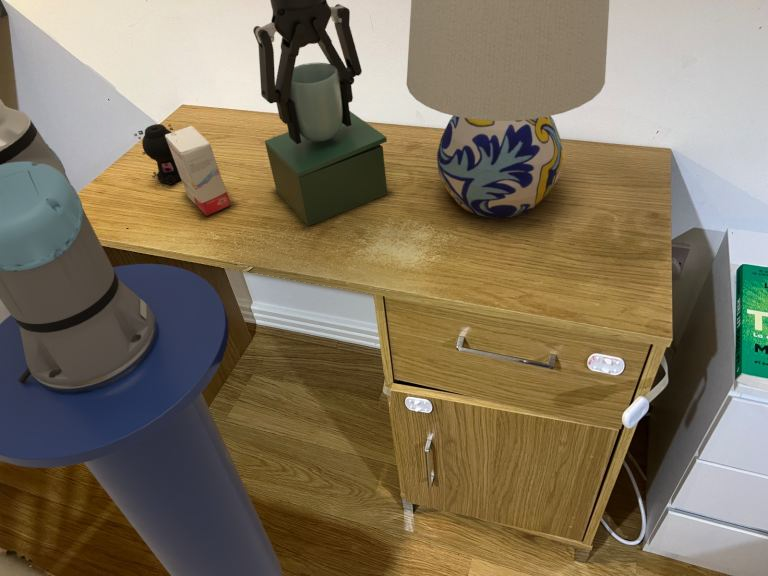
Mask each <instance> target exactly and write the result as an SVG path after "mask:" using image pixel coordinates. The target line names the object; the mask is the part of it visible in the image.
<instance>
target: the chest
mask: <svg viewBox="0 0 768 576" xmlns="http://www.w3.org/2000/svg"><path fill="white" fill-rule="evenodd" d="M265 149H266V153H267V157H268V162H269V165H270V169H271V174H272V179H273V182H274V187H275V191H276V194H278V195H279V196H280V198H282V199H283V201H284V202H285V203H286V204H287V205H288V206H289V207H290V208H291V210H292V211H294V213H295V214H296V215H297V216H298V217H299V218H300V219H301V220H302V221H303V222H304V223H305V225H306V226H307V227H310V226H312V225H315V224H318V223H321V222H322V221H325V220H327V219H330V218H333V217H335V216H337V215H340V214H342V213H345V212H348V211H349V210H352V209H355V208H357V207H360V206H362V205H365V204H367V203H370V202H372V201H374V200H378V199H380V198H382V197H385V196H387V195H388V188H387V179H386V167H385V156H384V147H383V145H382V144H379V145H377V146H374V147H372V148H370V149H367V150H365V151H362V152H360V153H357V154H355V155H352V156H350V157H348V158H345V159H343V160H340V161H338V162H335V163H333V164H330V165H328V166H325V167H323V168H321V169H318V170H316V171H313V172H311V173H308V174H306V175H303V176H301V177H297V176H296V175H295V174H294V173H293V172H292V171H291V170H290V169H289V168H288V167H287V166H286V165H285V164H284V163H283V162H282V161H281V160H280V159H279V158H278V157H277V156H276V155H275V154H274V153H273V152H272V151H271V150H270V149H269V148H268V147H267V146H266V145H265Z"/></svg>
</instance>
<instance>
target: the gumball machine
mask: <svg viewBox="0 0 768 576" xmlns="http://www.w3.org/2000/svg"><path fill="white" fill-rule="evenodd" d="M167 126H168V127H169V129H168V128H167V127H166V126H165V125H164V124H161V123H157V124H156V123H155V124H152V125H149V126H147V127H146V128H145V129H144V131H143V130H138V131H137V132H138V134H139V135H140V136H138V134H137V133H134V135H133V136H134V137H138V140H141V139H142V140H141V141H142V142H141V144H142V149H143V151H142V152H141V153H142V155H143V156H144V155H147V156H148V157H149V158H150V159H151V160H153V161H155V162H156V164H157V170H158V171H157V172H156V171H154V172H153V175H152V176H151V177H152V178H153V179H155V178H156V177H157V180H158V181H159V182H161V184H160V187H164V184H168V185H172V184H174V183H176V182H177V181H180V180H181V177H180V175H179V172H178V169H177V166H176V164H175V161H174V158H173V156H172V153H171V150H170V148H169V145H168V142H167V140H166V137H165V135H166V134H169V133H172V131H173V130H174V128H173V127H172V125H171V124H168V125H167ZM141 135H142V136H143V135H144V136H143V138H141Z"/></svg>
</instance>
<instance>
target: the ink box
mask: <svg viewBox="0 0 768 576" xmlns="http://www.w3.org/2000/svg"><path fill="white" fill-rule="evenodd" d="M171 132H172V131H171ZM165 137H166V140H167V142H168V145H169V148H170V150H171V153H172V156H173V158H174V161H175V164H176V166H177V169H178V172H179V175H180V177H181V179H180V180H181V182H182V185H183V188H184V190H185V191H184V192H185V193H186V196H187V197H188V198H189V200H190V201H191V202H192V203H193V204H194V205H195V206H196V207H197V208H198V209H199V210H200V211H201V212H202V213H203V214H204V215H205V216H210V215H212V214H214V213H217V212H220V211H221V210H223V209H225V208H227V207H229V206H231V205H232V203H231V200H230V198H229V195H228V192H227V189H226V187H225V184H224V181H223V177H222V175H221V172H220V169H219V167H218V163H217V161H216V158H215V155H214V151H213V148H212V146H211V143H210V142H209V141H208V140H207V139H206V138H205V137H204V136H203V135H202V133H200V132H199V131H198V129H196V128H195V127H194V126H193V125H189V126H186V127H182V128H181V129H178V130H175V131H173V132H172V133H169V134H166V135H165Z"/></svg>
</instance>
